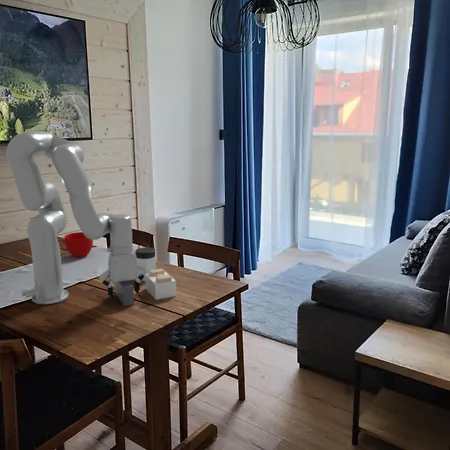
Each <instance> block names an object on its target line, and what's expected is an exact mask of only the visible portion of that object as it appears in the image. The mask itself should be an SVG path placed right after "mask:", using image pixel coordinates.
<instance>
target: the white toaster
mask: <svg viewBox="0 0 450 450" xmlns="http://www.w3.org/2000/svg"><path fill="white" fill-rule="evenodd" d="M145 280H146V281H145V290H147V292H148V293H149V294H150V295H151V296H152V297H153V299H155V301H156V300H157V301H158V300H162V299H169V298H172V297H177V280H176V279H175V278H174V277H173V276H171V275H170V274H169V273H168V272H167V271H166V270H165V269H163V268H156V269H155V270H149V274H145Z"/></svg>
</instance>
